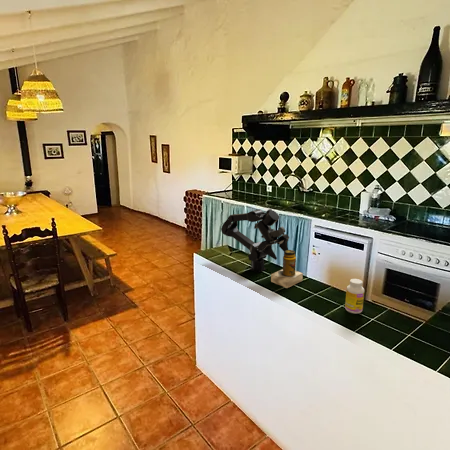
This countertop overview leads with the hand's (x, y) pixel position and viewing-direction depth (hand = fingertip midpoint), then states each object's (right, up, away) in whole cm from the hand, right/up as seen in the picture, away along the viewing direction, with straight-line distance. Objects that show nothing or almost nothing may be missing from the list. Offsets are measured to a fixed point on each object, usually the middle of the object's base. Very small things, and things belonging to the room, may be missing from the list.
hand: (282, 256), depth 157 cm
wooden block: (+2, -12, +1) cm, 12 cm away
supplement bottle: (+24, -19, -27) cm, 41 cm away
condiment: (+2, -9, -1) cm, 9 cm away
